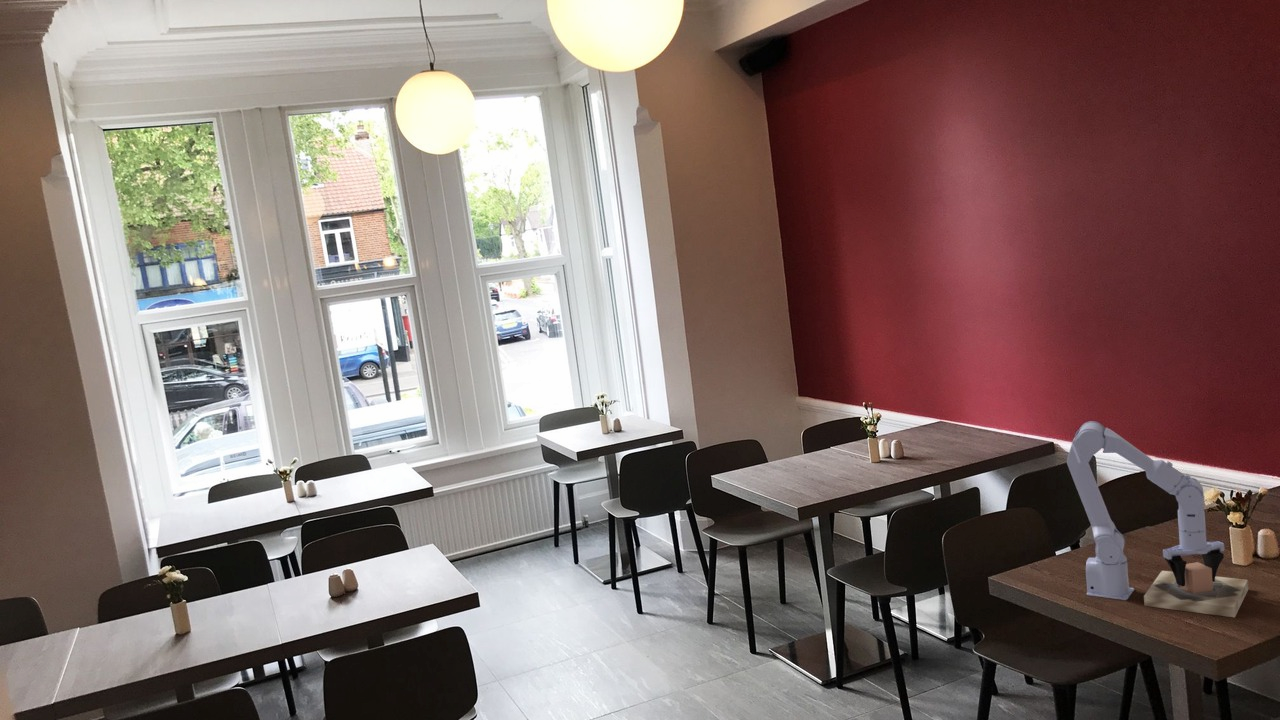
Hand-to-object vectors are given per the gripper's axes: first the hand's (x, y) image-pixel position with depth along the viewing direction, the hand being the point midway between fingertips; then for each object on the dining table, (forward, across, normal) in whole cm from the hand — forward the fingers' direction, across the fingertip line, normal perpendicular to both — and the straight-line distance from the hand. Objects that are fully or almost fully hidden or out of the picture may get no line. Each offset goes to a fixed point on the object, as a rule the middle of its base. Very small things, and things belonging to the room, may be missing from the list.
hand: (1195, 582), depth 234 cm
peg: (+4, 0, 0) cm, 4 cm away
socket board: (+4, 0, 0) cm, 4 cm away
